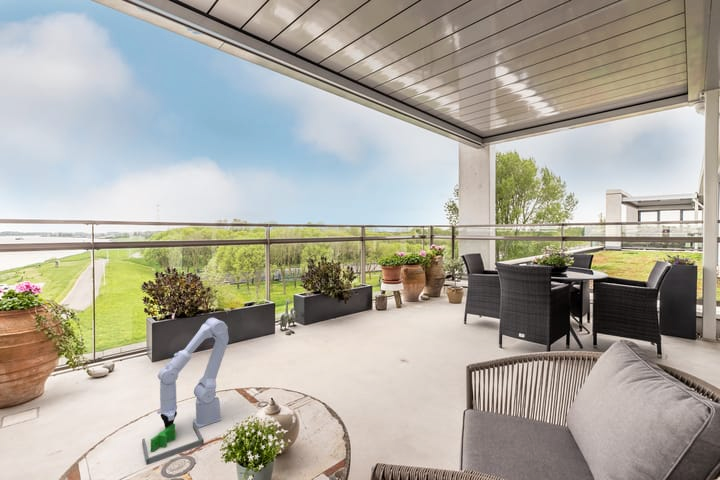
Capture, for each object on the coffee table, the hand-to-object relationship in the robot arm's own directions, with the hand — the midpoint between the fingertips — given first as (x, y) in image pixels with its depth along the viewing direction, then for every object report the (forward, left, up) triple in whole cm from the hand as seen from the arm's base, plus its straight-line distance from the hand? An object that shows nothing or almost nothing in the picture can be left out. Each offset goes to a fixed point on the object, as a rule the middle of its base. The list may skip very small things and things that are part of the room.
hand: (169, 430), depth 138 cm
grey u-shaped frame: (0, +8, -2) cm, 8 cm away
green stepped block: (+2, +6, -2) cm, 6 cm away
